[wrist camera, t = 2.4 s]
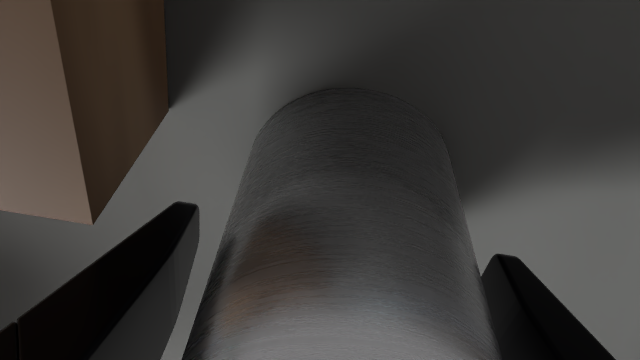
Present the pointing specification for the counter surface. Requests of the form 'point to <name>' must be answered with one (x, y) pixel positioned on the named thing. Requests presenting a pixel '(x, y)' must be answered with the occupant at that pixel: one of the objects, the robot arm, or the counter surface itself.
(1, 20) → the jig
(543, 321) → the robot arm
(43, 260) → the counter surface
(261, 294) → the shiny silver cylinder
